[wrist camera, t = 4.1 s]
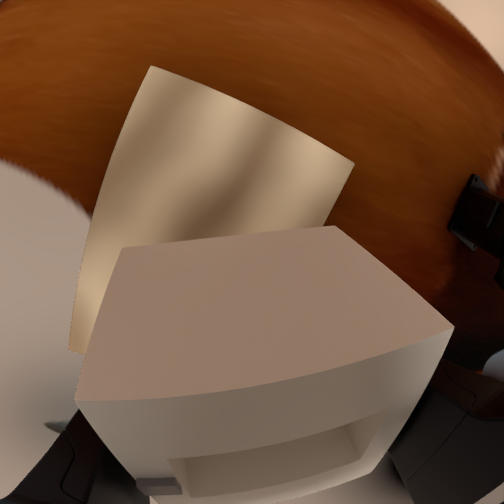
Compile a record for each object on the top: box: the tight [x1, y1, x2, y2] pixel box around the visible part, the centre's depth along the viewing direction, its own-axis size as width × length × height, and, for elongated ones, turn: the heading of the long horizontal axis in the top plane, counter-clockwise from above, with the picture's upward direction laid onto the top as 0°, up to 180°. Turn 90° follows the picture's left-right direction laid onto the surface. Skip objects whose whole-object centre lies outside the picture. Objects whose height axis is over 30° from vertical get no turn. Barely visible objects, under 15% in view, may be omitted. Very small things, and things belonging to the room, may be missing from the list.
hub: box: [74, 226, 454, 504], centre depth 7 cm, size 6×6×5 cm
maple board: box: [68, 66, 355, 355], centre depth 20 cm, size 14×21×2 cm, turn 154°
